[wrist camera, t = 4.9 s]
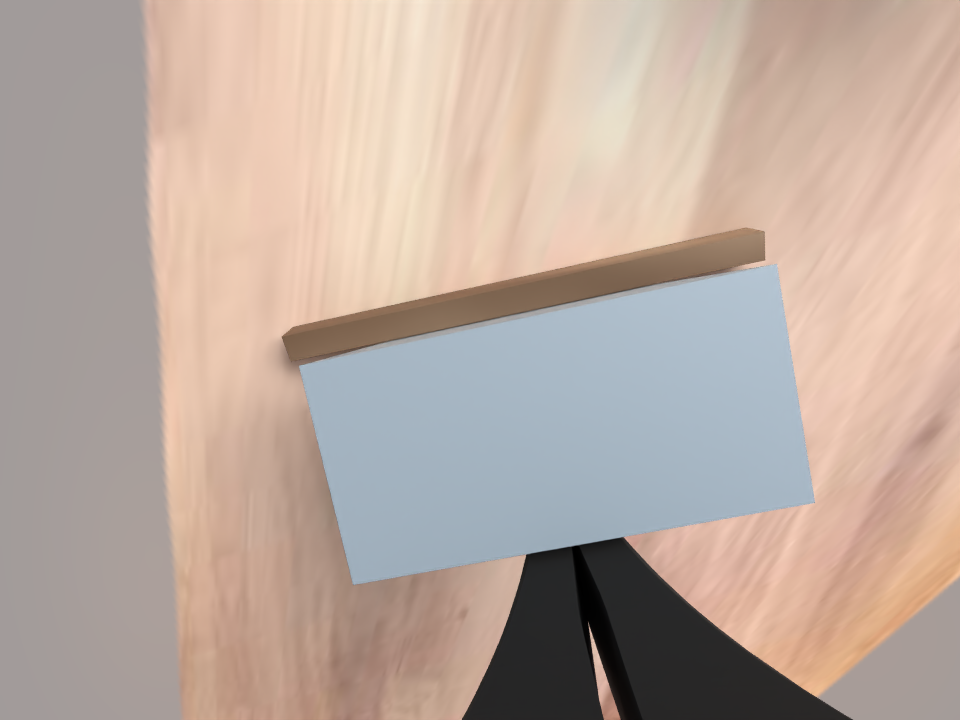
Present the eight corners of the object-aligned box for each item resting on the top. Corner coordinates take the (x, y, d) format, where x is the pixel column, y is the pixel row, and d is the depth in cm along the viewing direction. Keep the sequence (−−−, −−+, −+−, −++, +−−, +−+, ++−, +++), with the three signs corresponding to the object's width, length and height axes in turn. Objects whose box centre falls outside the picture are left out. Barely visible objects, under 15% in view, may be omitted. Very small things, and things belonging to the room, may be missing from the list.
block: (670, 411, 16) (814, 502, 8) (423, 459, 16) (353, 584, 9) (647, 285, 16) (776, 263, 8) (395, 339, 16) (298, 366, 9)
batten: (747, 254, 15) (765, 260, 14) (301, 350, 16) (290, 361, 15) (746, 227, 15) (764, 231, 14) (293, 327, 16) (281, 336, 15)
